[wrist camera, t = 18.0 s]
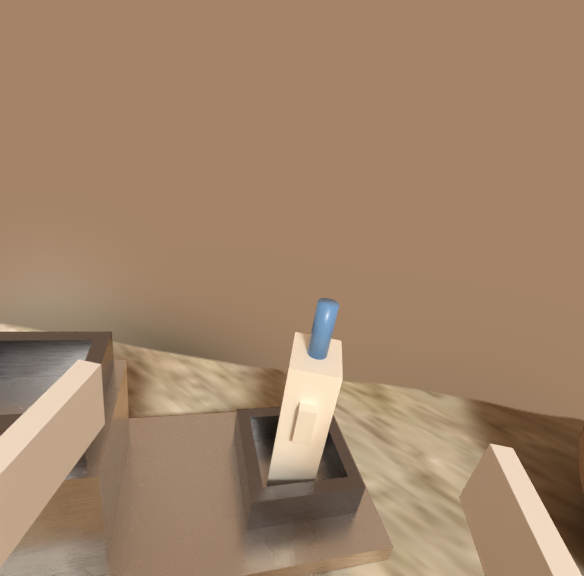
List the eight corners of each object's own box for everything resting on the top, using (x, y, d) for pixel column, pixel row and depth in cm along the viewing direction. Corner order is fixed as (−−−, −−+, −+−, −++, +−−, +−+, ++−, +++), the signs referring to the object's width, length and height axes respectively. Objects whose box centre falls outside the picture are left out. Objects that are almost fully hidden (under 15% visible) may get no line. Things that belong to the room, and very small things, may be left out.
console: (-138, 663, 19) (-253, 503, 13) (-11, 440, 31) (-45, 309, 26) (387, 559, 27) (443, 436, 22) (326, 416, 39) (353, 314, 34)
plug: (263, 501, 28) (297, 321, 21) (273, 445, 33) (304, 284, 26) (309, 510, 28) (357, 332, 21) (312, 453, 33) (353, 293, 26)
